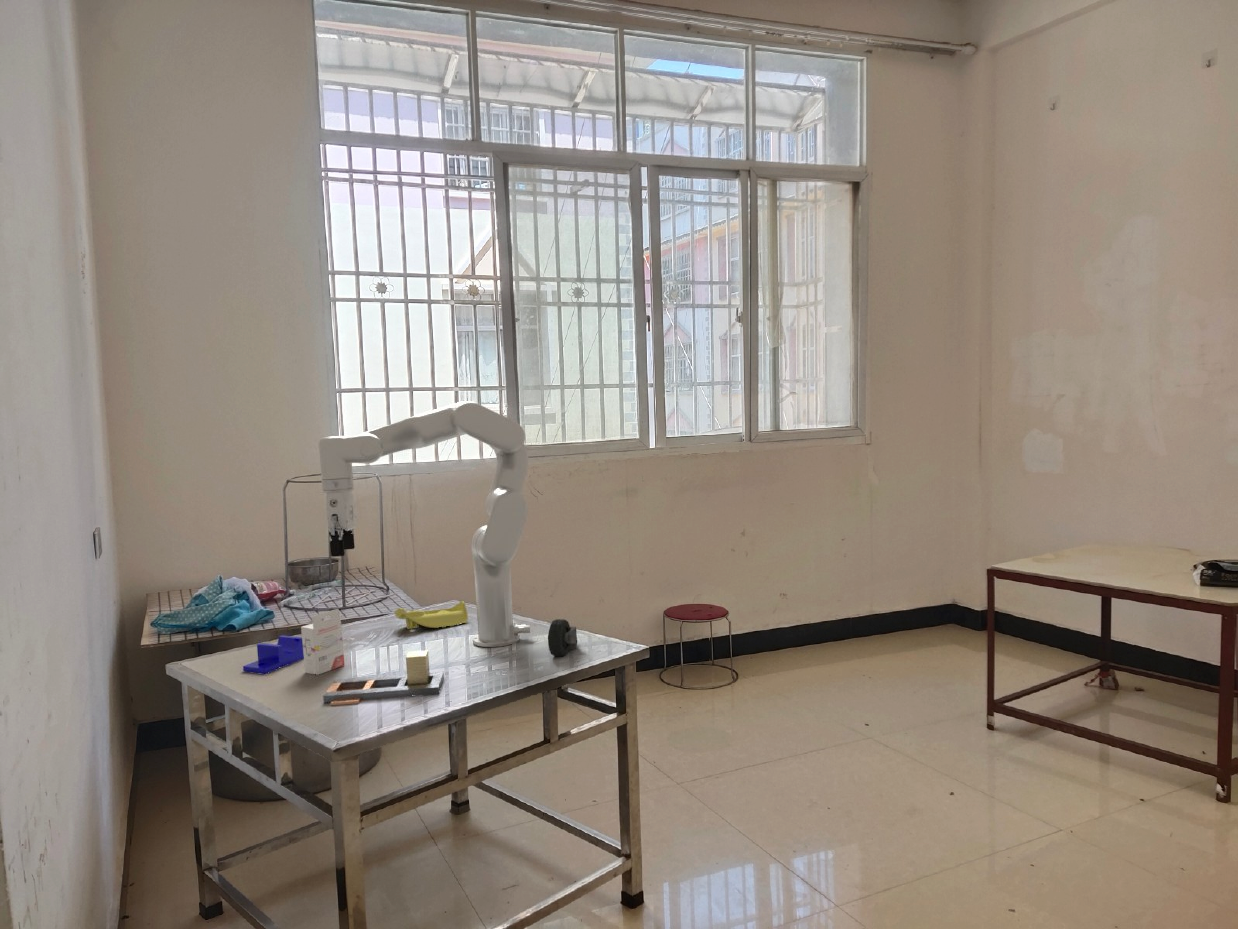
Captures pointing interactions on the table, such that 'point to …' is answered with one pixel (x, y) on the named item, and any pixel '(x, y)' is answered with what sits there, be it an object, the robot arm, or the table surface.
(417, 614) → the plastic component
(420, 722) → the table surface
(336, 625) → the ink cartridge box
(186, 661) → the table surface
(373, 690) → the rail frame
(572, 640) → the caster wheel
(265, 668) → the mounting bracket
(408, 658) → the brass block
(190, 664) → the table surface
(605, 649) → the table surface
